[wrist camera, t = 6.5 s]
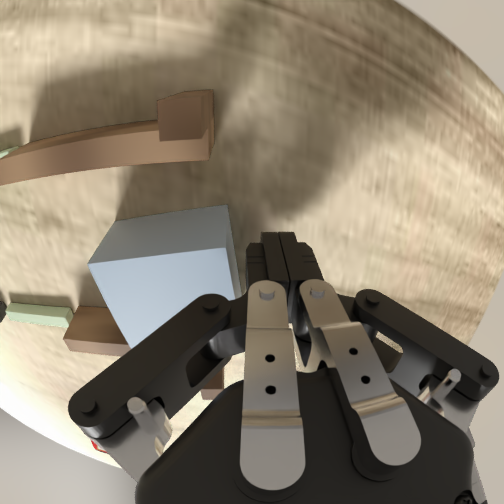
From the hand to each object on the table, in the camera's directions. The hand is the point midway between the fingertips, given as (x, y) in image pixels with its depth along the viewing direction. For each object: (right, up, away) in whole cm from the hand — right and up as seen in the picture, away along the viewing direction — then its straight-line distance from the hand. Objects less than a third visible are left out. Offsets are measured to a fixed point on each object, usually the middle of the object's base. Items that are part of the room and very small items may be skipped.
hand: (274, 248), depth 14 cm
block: (-5, -1, +2) cm, 5 cm away
